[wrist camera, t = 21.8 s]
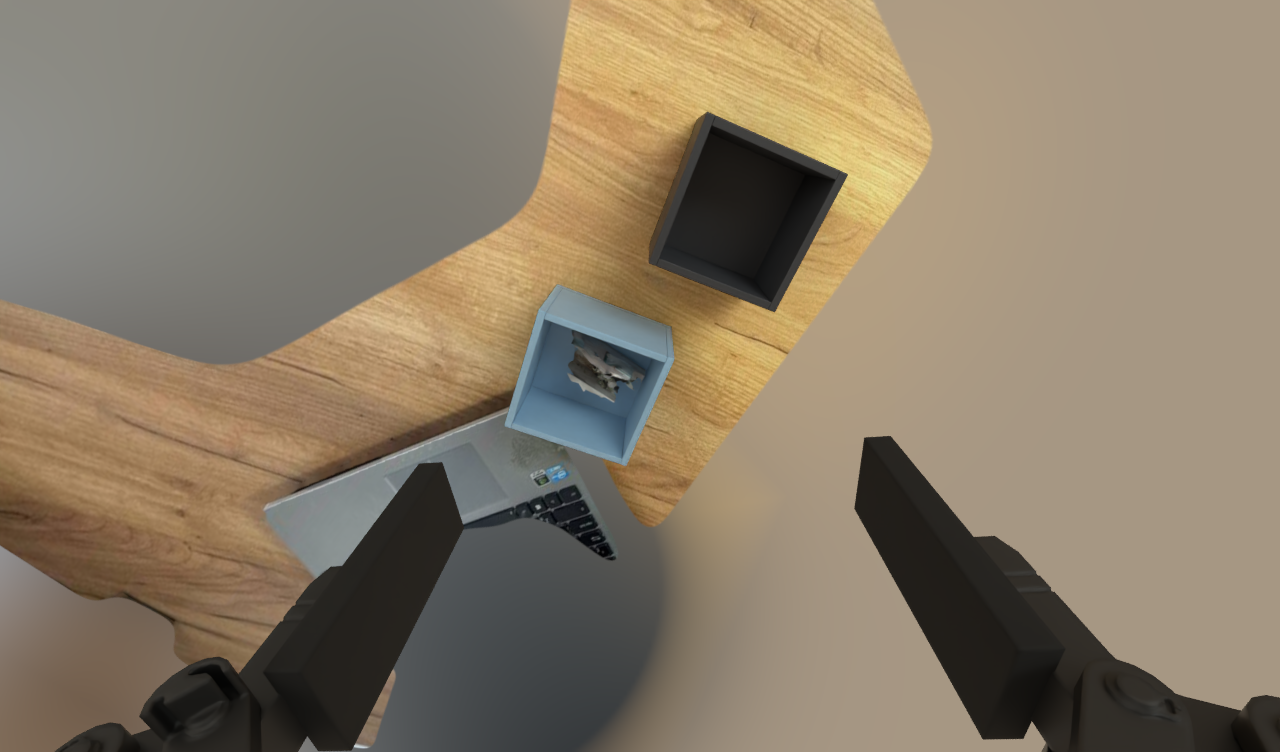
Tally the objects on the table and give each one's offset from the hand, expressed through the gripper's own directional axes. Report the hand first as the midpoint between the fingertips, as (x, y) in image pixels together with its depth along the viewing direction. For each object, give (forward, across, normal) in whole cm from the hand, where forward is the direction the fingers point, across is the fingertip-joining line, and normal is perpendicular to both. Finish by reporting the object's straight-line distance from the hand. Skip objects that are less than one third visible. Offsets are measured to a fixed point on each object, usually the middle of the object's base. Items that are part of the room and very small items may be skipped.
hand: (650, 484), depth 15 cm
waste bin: (+30, +7, +5) cm, 31 cm away
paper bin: (+30, -6, -8) cm, 31 cm away
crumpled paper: (+29, -6, -8) cm, 31 cm away
